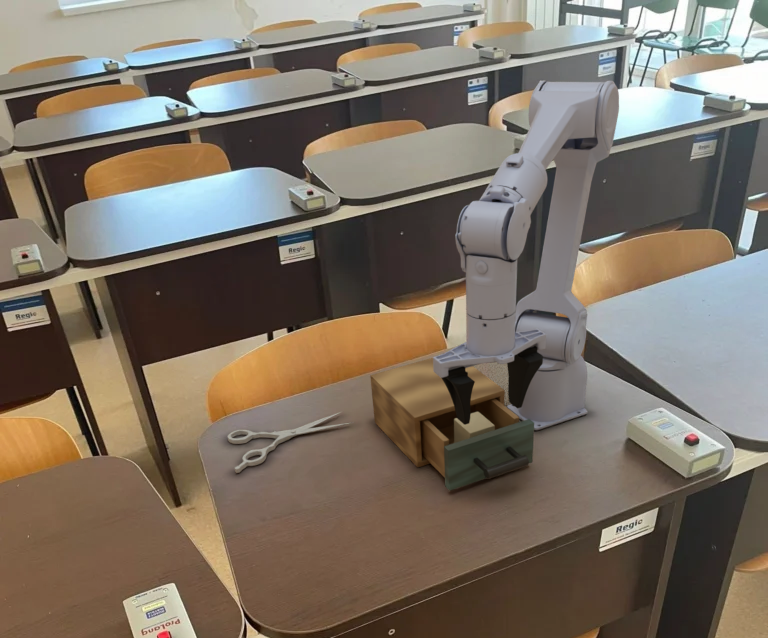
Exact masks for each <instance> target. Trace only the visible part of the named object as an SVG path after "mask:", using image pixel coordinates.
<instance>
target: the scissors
mask: <svg viewBox="0 0 768 638" xmlns="http://www.w3.org/2000/svg"><path fill="white" fill-rule="evenodd" d="M342 412H344V411H340V412H336V413H334V414H331V415H328V416H325V417H323V418H320V419H317V420H314V421H311V422H309V423H306V424H304V425H301V426H299V427H297V428H292V429H285V430H278V431H273V432H267V431H259V432H254V431H251V430H249V429H237V430H233V431H231V432H229V434H227V440H228V442H229V443H230V444H234V445H238V444H239V445H241V444H246V443H248V442H250V441H251V440H253V439H260V438H268V439H269V438H270V439H274V441H273V442H272V443H270V444H269V445H268V446H265V447H263V448H260V449H259V448H258V449H250V450H248V451H247V452H245V454H244V455H243V456H242V462H241V463H240V464H239V465H236V466H234V471H235V473H236V474H239V473H241V472H242V471H243V470H244V469H245V468H247V467H253V466H254V467H255V466H257V465H260V464H262V463H263V462H264V461H265V460H266V459H267V455H268V454H269V452H271V451H275V449H276V447H277V446H278V445H279V444H281V443H284V442H286V441H289V440H290V439H292V438H293V437H296V436H300V435H303V434H304V435H305V434H310V433H315V432H319V431H325V430H329V429H333V428H338V427H342V426H346V425H350V424H353V423H355V422H354V421H353V422H346V423H345V422H344V423H337V424H331V425H324V426H317V427H315V426H316V425H319V424H321V423H323V422H324V421H326V420H328V419H330V418H333V417H334V416H336V415H338V414H340V413H342ZM240 435H245V436H242V437H237V438H236V436H240ZM254 456H260V457H257V458H255V459H251V460H250V459H249V458H252V457H254Z"/></svg>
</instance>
